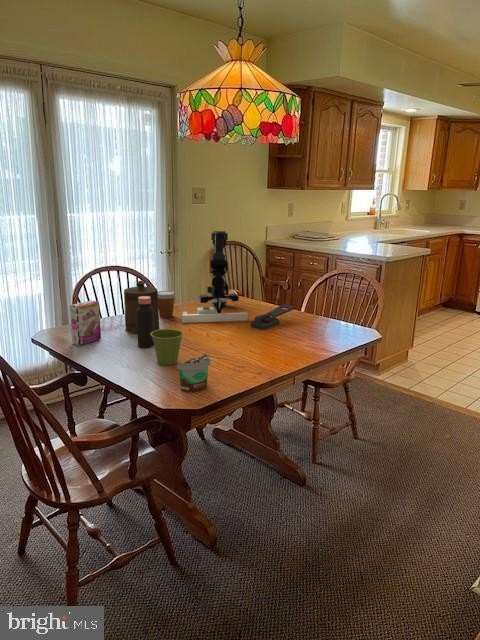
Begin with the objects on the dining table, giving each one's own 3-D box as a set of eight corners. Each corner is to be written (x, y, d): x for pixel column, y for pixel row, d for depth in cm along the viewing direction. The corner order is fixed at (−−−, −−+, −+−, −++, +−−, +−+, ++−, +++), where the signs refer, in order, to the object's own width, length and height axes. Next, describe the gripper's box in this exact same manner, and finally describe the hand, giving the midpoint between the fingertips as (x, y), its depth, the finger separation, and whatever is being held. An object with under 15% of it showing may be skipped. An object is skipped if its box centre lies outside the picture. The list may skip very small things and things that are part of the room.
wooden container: (139, 322, 226) (137, 276, 220) (165, 327, 220) (164, 279, 214) (118, 331, 213) (115, 282, 207) (146, 336, 207) (144, 285, 201)
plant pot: (186, 366, 174) (186, 336, 171) (153, 369, 170) (152, 339, 167) (181, 355, 185) (180, 327, 181) (149, 358, 181) (148, 329, 178)
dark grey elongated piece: (296, 307, 233) (262, 316, 215) (295, 320, 235) (262, 330, 217) (282, 303, 239) (247, 312, 221) (281, 316, 240) (247, 326, 223)
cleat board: (181, 317, 236) (181, 310, 235) (244, 315, 241) (244, 308, 240) (182, 322, 227) (182, 315, 226) (247, 320, 232) (247, 313, 231)
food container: (190, 397, 149) (190, 367, 146) (177, 391, 153) (176, 362, 150) (218, 385, 158) (218, 357, 155) (205, 380, 162) (205, 352, 159)
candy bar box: (79, 346, 193) (76, 306, 188) (72, 344, 196) (68, 304, 191) (102, 339, 202) (99, 301, 197) (94, 337, 204) (91, 299, 200)
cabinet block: (197, 317, 236) (197, 306, 234) (213, 316, 238) (213, 305, 236) (198, 320, 231) (198, 309, 229) (215, 320, 232) (215, 308, 231)
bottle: (134, 347, 193) (132, 298, 188) (143, 342, 199) (141, 294, 194) (149, 349, 191) (147, 300, 185) (158, 344, 197) (156, 296, 191)
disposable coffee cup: (168, 312, 244) (168, 289, 240) (179, 316, 237) (179, 293, 234) (152, 316, 238) (151, 292, 234) (163, 320, 231) (162, 295, 227)
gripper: (233, 279, 240) (232, 310, 245) (196, 281, 236) (196, 312, 240) (239, 284, 230) (238, 315, 234) (200, 285, 225) (200, 318, 230)
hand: (218, 315), depth 235 cm, fingers closed
